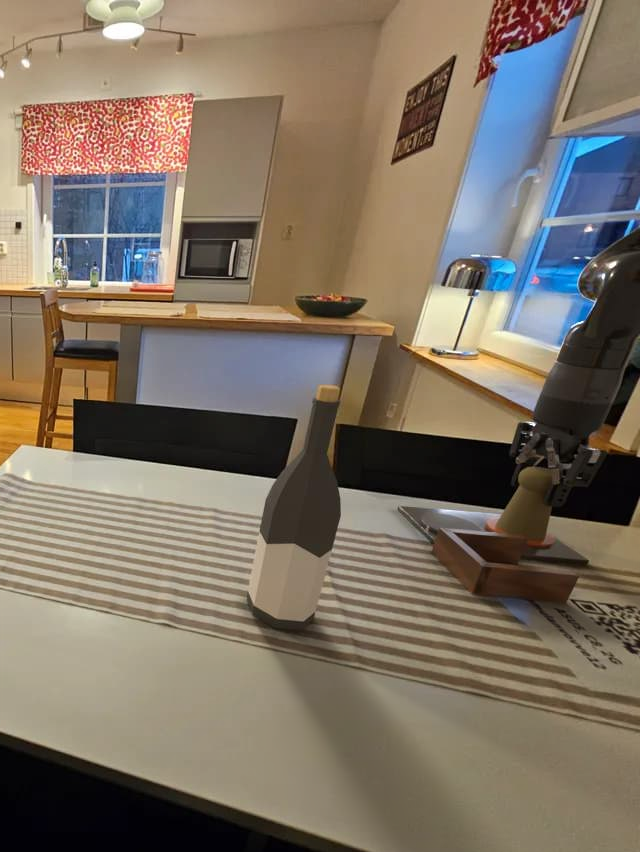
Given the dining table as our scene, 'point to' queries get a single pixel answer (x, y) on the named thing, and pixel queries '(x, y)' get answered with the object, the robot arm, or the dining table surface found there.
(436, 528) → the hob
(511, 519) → the olive knobbed cone
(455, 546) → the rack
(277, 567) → the wine bottle
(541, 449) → the robot arm
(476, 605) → the dining table surface
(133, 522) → the dining table surface
